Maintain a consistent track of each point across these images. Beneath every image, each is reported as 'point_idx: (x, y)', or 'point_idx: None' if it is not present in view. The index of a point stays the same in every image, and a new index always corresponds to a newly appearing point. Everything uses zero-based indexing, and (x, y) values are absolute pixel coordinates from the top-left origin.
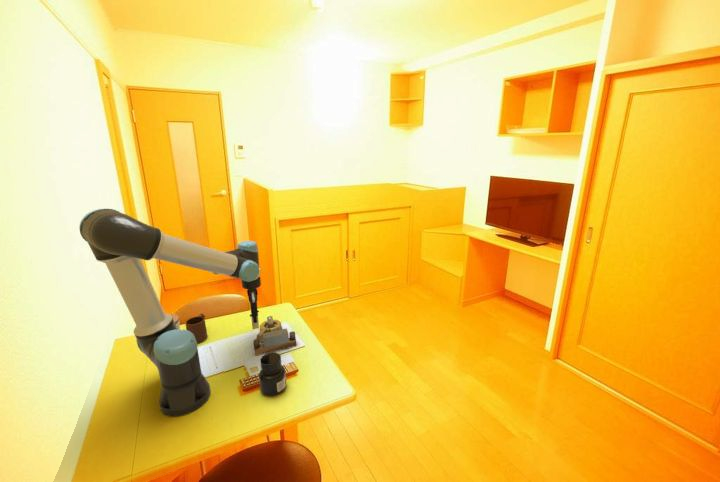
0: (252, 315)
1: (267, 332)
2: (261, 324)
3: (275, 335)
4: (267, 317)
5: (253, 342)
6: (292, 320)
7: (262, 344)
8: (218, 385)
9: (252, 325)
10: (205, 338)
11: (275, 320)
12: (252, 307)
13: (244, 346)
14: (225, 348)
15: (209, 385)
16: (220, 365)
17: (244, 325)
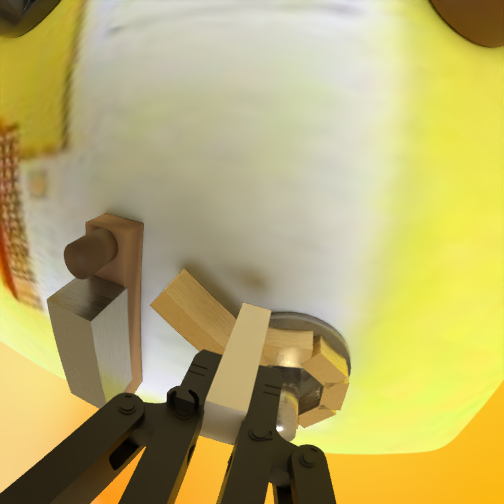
0: (108, 407)
1: (94, 346)
2: (325, 363)
3: (62, 353)
4: (285, 427)
5: (75, 241)
6: (309, 441)
7: (116, 277)
8: (29, 53)
9: (234, 325)
10: (446, 17)
11: (308, 420)
12: (29, 481)
13: (216, 188)
14: (267, 77)
15: (8, 31)
16: (118, 43)
17: (460, 274)
